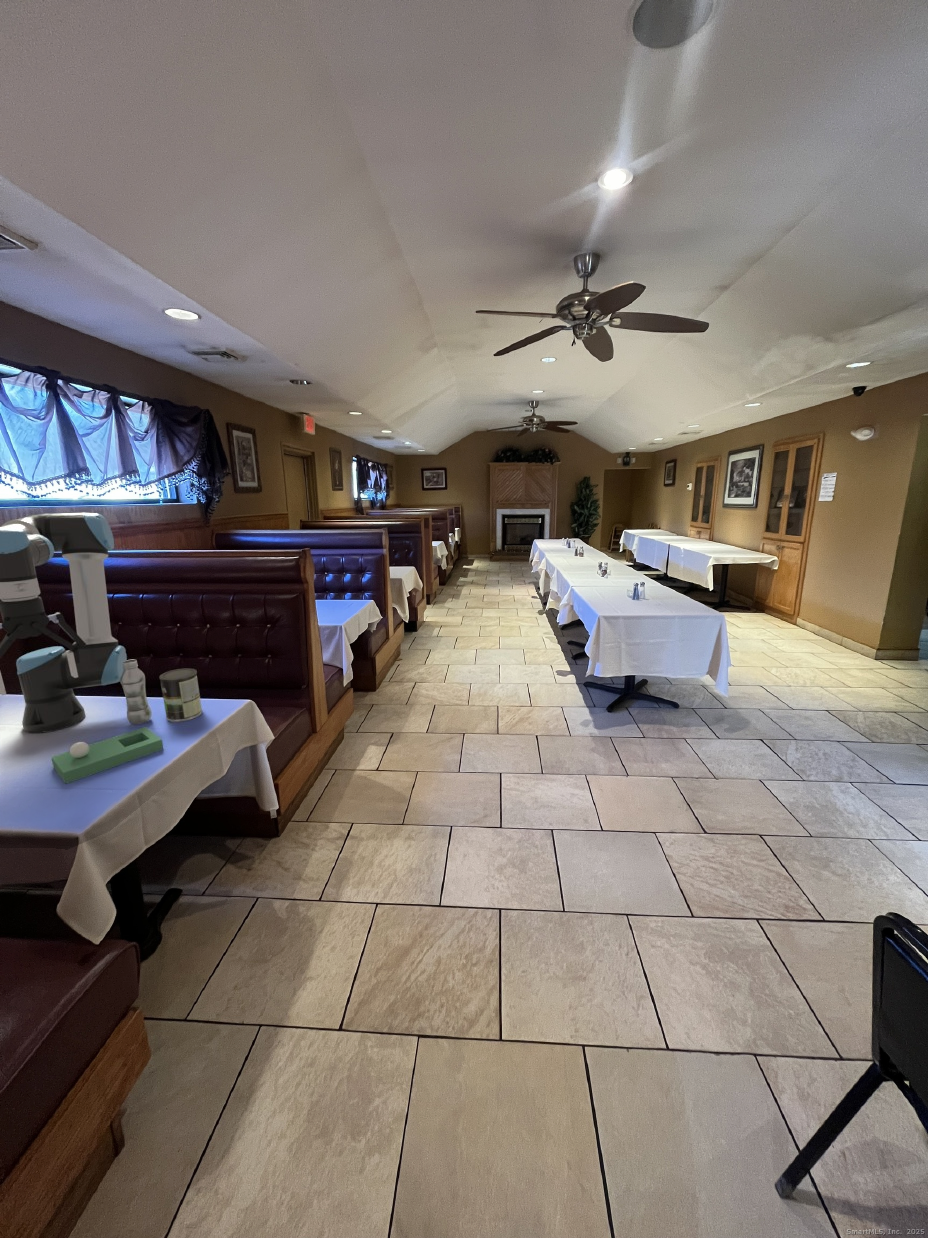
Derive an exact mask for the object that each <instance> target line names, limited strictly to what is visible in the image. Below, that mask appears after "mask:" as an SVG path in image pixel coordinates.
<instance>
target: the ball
mask: <svg viewBox="0 0 928 1238" xmlns="http://www.w3.org/2000/svg"><path fill="white" fill-rule="evenodd" d="M88 745H89V744H88V743H86V742H84V741H79V742H78V741H77V742H75V743H74V744H72V745H71V746H70V748H69V751H70V754H71V755H72V756H73V757H75V758H81V757H84V756H85V755H87V753H88V752H89V746H88Z"/></svg>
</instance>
